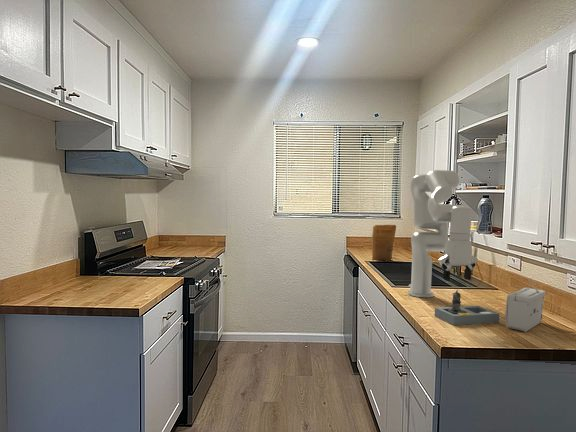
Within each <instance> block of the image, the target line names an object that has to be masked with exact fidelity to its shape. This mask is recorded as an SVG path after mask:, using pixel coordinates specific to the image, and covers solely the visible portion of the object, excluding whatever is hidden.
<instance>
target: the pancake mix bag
mask: <svg viewBox="0 0 576 432" xmlns="http://www.w3.org/2000/svg"><path fill="white" fill-rule="evenodd" d="M396 229H397V225H395V224H374V226H373V227H372V234H371V236H372V237H371V247H372V249H371V250H372V252H371V253H372V257H371V260H372V261H374V260H391V259H392V260H393V251H394V242H395V238H396V237H395V236H396V231H397V230H396Z"/></svg>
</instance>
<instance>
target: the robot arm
mask: <svg viewBox="0 0 576 432" xmlns="http://www.w3.org/2000/svg"><path fill="white" fill-rule="evenodd" d="M459 184H460V176H459V174H458V173H457V172H456V171H454V170H447V169H446V170H445V169H442V170H441V169H439V170H438V169H435V170H431V171H429V172H428V173H427V174H417V175H415V176H413V177H412V178H411V182H410V190H411V191H410V192H411V195H412V198H413V222H414V227H415V228H416V229H420V230H435V232H433V231H431V232H430V231H418V232H414V233H413V234H412V235H411V237H410V243H411V255H412V256H411V258H412V259H411V279H410V280H411V281H410V284H408V287H409V288H410V289H408V290H407V295H409V296H412V297H416V298H433V297H434V296H435V293H434V292H432V291H431V290H432V289H431V288H432V275H433V274H432V273H433V271H432V269H433V260H432V257H431V255H429V252H443V253H444V255H443V256H441V257H440V258H439V259H438V264H439V266H440V268H441V269H442V270H443V272H442V273H443V275H442V277H443V280H444V281H446V282H449V281H450V279H451V269H452V267H465V268H464V271H463V279H465V280H468V281H471V278H472V271H473V270H474V268H475V266H476V264H477V262H478V258H477V257H475V256H473V250H472V249H473V248H472V241H471V238H472V237H473V235H472V234H471V228H472V212H473V211H472V207H470V206H465V205H463V204H444V202H446V201H448V200H449V199H451V197H453V190H455V189H457V188H458V186H459ZM429 192H430V193H431V195H430V196H429V194H428V193H429ZM441 203H442V204H441ZM449 223H450V225H449Z"/></svg>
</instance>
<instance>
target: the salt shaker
mask: <svg viewBox="0 0 576 432" xmlns="http://www.w3.org/2000/svg"><path fill="white" fill-rule="evenodd" d="M451 302H452V304H451V305H452V306H451V307H452V308H451V309H449V310H448V311H449V312H450V313H452V314H458V313H464V311H462V310H461V309H460V306H461V303H462V301H461V293H460V292H459V291H458V290H456V291H455V292H453V294H452V300H451Z"/></svg>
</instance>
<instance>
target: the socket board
mask: <svg viewBox="0 0 576 432" xmlns="http://www.w3.org/2000/svg"><path fill="white" fill-rule="evenodd" d="M451 308H452V306H441V307H440V306H439V307H434V318H435V317H436V318H438V319H440V320H442V321H444V322H446V323H448V324H451V325H452V326H460V325H462V326H463V325H478V324H479V325H481V324H494V323H497V324H498V323H500V316H501V315H500V313H499V312H496V311H493V310H491V309H488V308H486V307H483V306H481V305H463V306H461V305H460V309H461V310H462V311H464V313H458V314H452V313H450V312H449V311H448V310H449V309H451Z"/></svg>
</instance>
